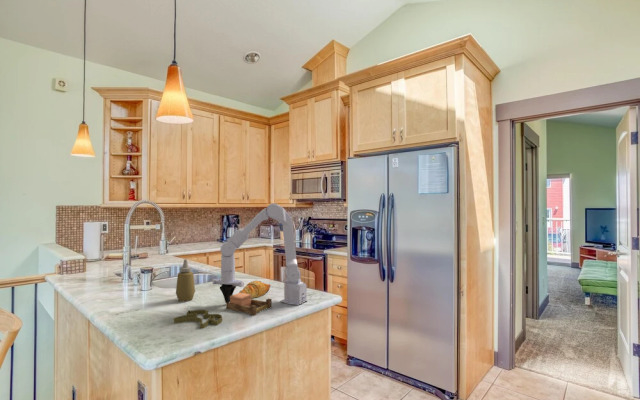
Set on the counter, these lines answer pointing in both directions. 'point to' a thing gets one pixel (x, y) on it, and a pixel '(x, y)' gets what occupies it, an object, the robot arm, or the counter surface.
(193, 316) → the cookie cutter
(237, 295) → the peach rectangular block
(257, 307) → the brown wooden frame
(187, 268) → the squeeze bottle
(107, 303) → the counter surface
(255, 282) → the croissant
